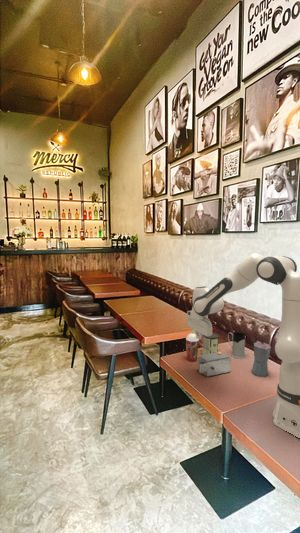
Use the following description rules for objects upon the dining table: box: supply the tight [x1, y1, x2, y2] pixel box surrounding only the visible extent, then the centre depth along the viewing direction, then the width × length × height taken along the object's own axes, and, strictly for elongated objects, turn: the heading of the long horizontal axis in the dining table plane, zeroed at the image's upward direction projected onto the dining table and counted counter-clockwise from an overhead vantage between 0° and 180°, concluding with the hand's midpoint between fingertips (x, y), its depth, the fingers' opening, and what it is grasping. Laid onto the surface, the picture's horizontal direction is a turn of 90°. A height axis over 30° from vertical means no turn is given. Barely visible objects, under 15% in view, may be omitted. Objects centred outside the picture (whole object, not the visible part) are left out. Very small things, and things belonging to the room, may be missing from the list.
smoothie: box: [185, 328, 200, 362], centre depth 175 cm, size 8×8×20 cm
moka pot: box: [251, 339, 272, 378], centre depth 159 cm, size 10×15×20 cm, turn 11°
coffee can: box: [201, 332, 220, 355], centre depth 183 cm, size 10×10×14 cm
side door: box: [199, 357, 232, 377], centre depth 155 cm, size 2×21×8 cm, turn 114°
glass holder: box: [227, 331, 246, 360], centre depth 185 cm, size 9×14×15 cm, turn 29°
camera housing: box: [197, 351, 231, 377], centre depth 161 cm, size 8×17×10 cm, turn 114°
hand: (198, 338), depth 156 cm, fingers closed
